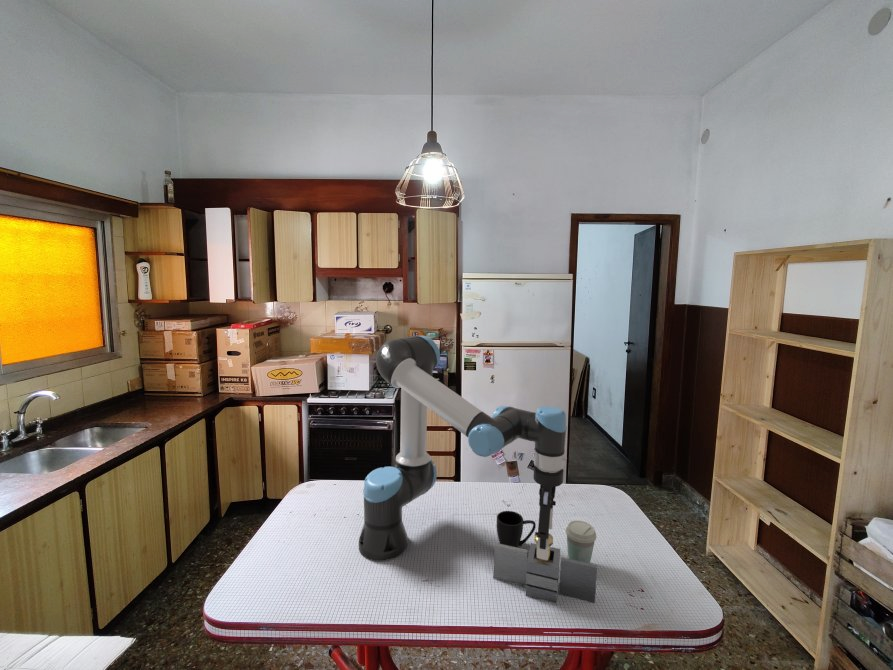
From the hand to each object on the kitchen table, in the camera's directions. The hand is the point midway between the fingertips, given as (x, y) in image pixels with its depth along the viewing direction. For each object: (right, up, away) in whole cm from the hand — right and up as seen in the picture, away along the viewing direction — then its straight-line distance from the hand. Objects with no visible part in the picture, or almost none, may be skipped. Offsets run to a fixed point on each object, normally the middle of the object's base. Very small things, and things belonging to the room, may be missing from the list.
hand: (544, 542), depth 109 cm
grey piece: (-5, -13, +3) cm, 14 cm away
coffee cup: (+13, -13, +11) cm, 21 cm away
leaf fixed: (+4, -14, 0) cm, 14 cm away
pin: (-1, -14, +2) cm, 14 cm away
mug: (-5, -11, +19) cm, 23 cm away
